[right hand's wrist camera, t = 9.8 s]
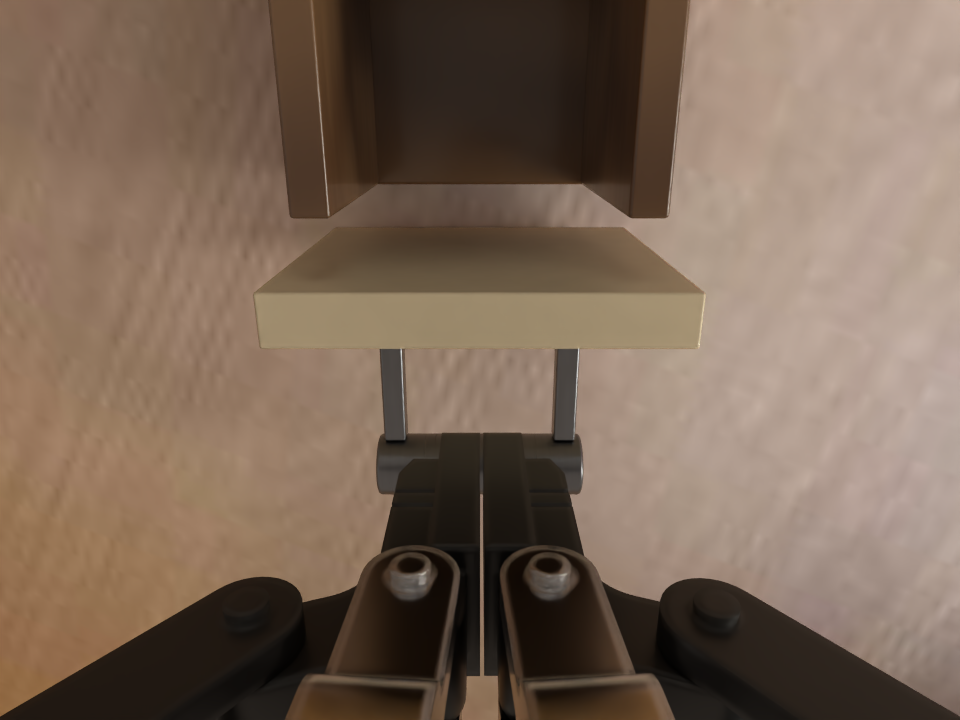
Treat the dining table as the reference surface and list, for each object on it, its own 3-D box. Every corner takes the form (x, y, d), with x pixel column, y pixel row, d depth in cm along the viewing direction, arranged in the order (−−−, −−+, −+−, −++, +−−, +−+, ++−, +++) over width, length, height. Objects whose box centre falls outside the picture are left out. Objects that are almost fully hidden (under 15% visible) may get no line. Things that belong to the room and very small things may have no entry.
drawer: (609, 428, 23) (671, 580, 16) (350, 428, 23) (287, 580, 16) (678, -491, 15) (879, -1098, 7) (280, -491, 15) (79, -1095, 7)
